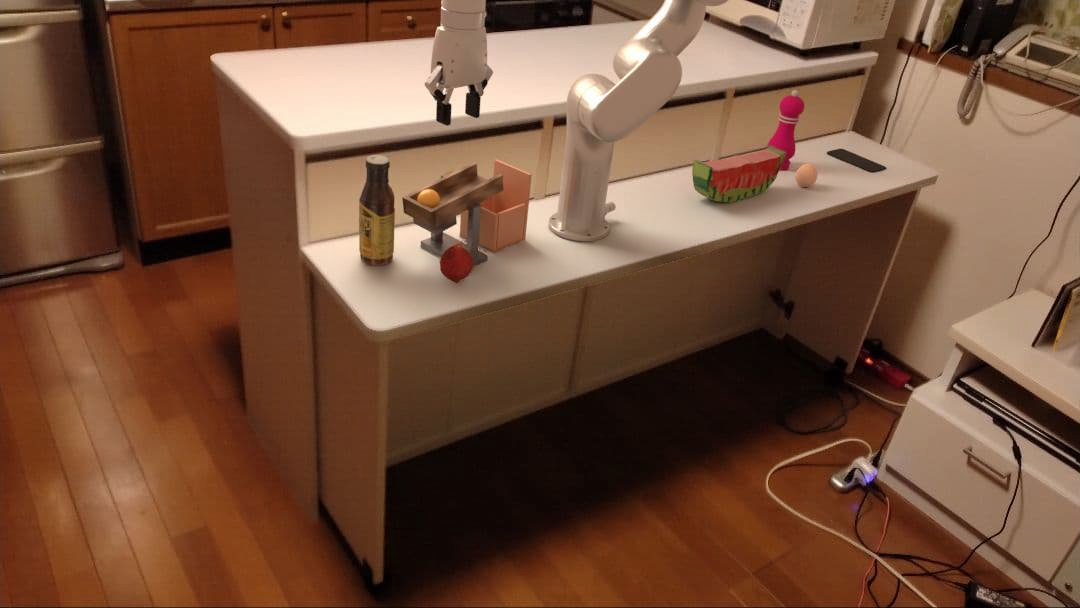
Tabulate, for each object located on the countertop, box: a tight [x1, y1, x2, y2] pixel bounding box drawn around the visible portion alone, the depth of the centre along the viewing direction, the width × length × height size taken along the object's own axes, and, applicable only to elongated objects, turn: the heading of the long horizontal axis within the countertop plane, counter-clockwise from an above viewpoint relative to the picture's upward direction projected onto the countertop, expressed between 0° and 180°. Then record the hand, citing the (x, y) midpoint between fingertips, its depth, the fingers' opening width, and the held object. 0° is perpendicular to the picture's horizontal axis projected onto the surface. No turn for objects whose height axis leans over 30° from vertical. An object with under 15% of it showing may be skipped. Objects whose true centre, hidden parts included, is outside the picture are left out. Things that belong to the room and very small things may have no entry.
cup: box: [459, 159, 533, 254], centre depth 162 cm, size 9×9×14 cm
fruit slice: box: [691, 145, 786, 204], centre depth 193 cm, size 26×6×10 cm, turn 126°
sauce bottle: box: [358, 154, 396, 266], centre depth 148 cm, size 7×6×20 cm
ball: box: [417, 189, 440, 209], centre depth 147 cm, size 4×4×4 cm
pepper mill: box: [765, 89, 805, 171], centre depth 211 cm, size 7×7×20 cm
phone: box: [826, 148, 887, 173], centre depth 226 cm, size 7×1×15 cm
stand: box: [420, 203, 489, 268], centre depth 155 cm, size 6×12×12 cm, turn 49°
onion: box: [439, 241, 474, 284], centre depth 147 cm, size 6×6×8 cm
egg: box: [795, 162, 818, 188], centre depth 204 cm, size 5×5×6 cm
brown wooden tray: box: [401, 161, 503, 235], centre depth 153 cm, size 18×12×6 cm, turn 139°
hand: (458, 118), depth 153 cm, fingers open, 6 cm apart
